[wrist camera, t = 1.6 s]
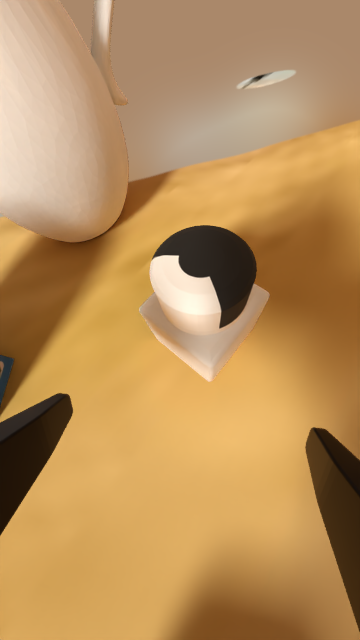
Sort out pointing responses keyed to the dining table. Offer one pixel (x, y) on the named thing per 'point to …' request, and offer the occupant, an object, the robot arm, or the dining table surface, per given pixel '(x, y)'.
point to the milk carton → (4, 373)
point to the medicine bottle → (203, 296)
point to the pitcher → (59, 122)
